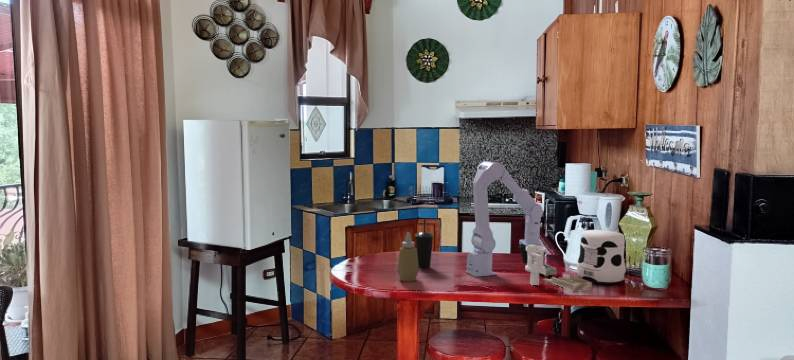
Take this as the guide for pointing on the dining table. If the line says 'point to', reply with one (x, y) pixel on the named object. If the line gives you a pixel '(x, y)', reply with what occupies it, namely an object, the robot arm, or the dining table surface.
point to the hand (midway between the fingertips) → (531, 265)
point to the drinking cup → (424, 248)
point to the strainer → (535, 262)
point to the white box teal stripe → (549, 271)
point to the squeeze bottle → (408, 260)
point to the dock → (571, 283)
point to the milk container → (601, 257)
